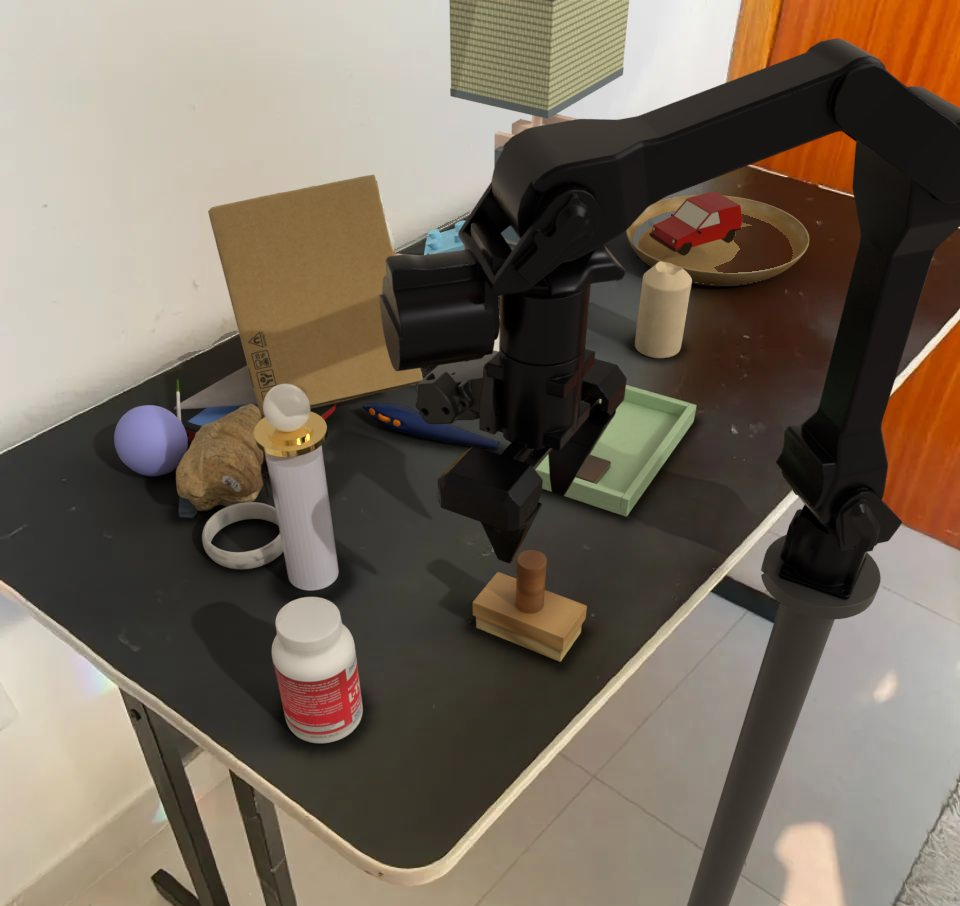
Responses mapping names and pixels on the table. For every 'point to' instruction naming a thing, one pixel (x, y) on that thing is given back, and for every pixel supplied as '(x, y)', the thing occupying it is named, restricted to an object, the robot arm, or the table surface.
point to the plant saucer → (718, 244)
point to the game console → (202, 416)
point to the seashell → (223, 462)
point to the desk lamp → (534, 57)
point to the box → (311, 289)
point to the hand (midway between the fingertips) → (532, 525)
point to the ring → (233, 515)
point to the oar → (184, 504)
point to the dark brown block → (593, 469)
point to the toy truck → (699, 223)
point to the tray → (631, 449)
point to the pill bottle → (316, 671)
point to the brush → (529, 609)
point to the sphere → (150, 440)
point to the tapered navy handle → (425, 426)
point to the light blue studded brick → (444, 240)
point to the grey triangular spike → (224, 393)
